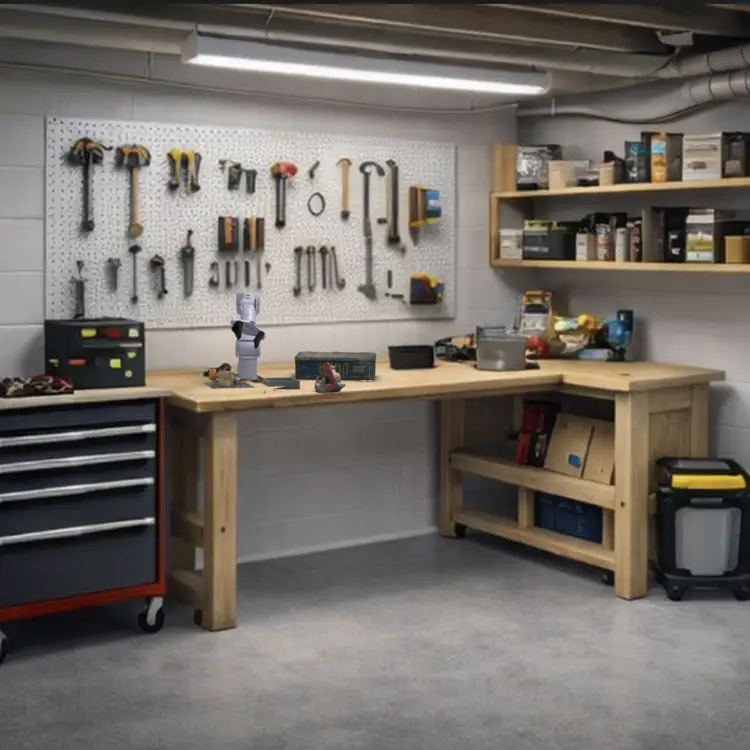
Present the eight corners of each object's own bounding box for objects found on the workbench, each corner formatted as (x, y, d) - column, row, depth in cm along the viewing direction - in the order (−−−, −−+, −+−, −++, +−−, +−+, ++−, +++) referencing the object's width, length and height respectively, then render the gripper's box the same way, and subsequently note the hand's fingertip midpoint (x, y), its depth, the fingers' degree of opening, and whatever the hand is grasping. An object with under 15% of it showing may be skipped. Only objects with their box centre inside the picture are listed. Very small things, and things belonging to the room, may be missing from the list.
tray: (262, 385, 452) (262, 377, 451) (291, 384, 455) (291, 377, 455) (269, 389, 441) (269, 381, 440) (299, 388, 445) (299, 380, 444)
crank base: (202, 385, 448) (202, 381, 448) (244, 384, 454) (244, 381, 453) (212, 391, 431) (212, 388, 431) (255, 390, 437) (255, 387, 436)
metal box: (374, 382, 471) (375, 357, 470) (293, 380, 472) (294, 355, 471) (376, 376, 492) (376, 352, 491) (298, 374, 493) (298, 350, 492)
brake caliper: (304, 384, 440) (322, 358, 442) (324, 400, 445) (342, 374, 447) (318, 387, 430) (336, 361, 432) (339, 404, 435) (356, 378, 438)
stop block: (224, 384, 445) (224, 370, 444) (233, 384, 443) (233, 371, 442) (218, 385, 441) (218, 371, 440) (227, 386, 439) (227, 372, 439)
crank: (239, 381, 451) (239, 368, 450) (241, 382, 447) (241, 369, 447) (208, 382, 447) (208, 368, 446) (210, 383, 443) (210, 369, 443)
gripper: (237, 305, 447) (237, 327, 436) (269, 321, 453) (270, 343, 442) (227, 317, 450) (227, 339, 440) (259, 334, 456) (260, 356, 446)
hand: (248, 342), depth 441 cm, fingers open, 7 cm apart
